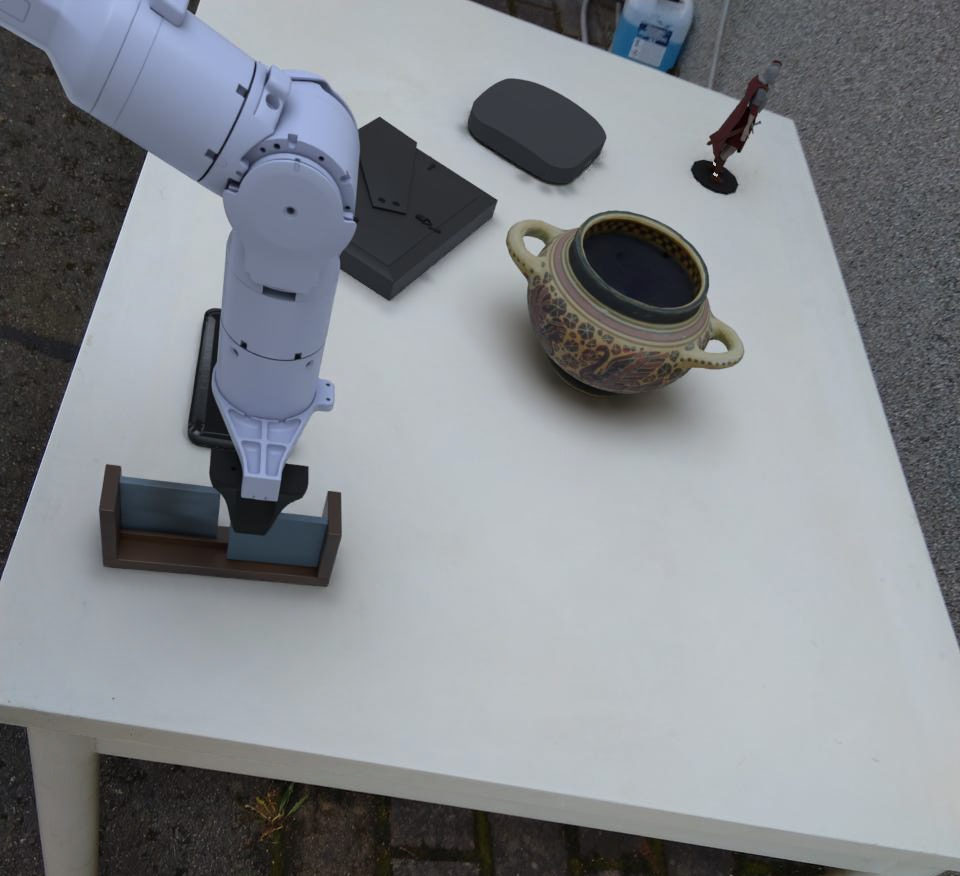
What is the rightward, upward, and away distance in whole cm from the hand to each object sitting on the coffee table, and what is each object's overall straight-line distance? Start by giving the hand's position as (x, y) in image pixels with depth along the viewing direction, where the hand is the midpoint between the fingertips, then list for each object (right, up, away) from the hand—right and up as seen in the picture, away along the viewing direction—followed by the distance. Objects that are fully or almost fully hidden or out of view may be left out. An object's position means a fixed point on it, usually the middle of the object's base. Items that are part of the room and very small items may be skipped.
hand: (252, 483), depth 62 cm
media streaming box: (+22, +50, +51) cm, 74 cm away
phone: (-5, +11, +17) cm, 21 cm away
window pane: (0, -4, +7) cm, 9 cm away
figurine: (+45, +49, +59) cm, 89 cm away
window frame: (-4, -4, +8) cm, 10 cm away
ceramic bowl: (+26, +17, +32) cm, 44 cm away
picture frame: (+5, +33, +35) cm, 48 cm away
